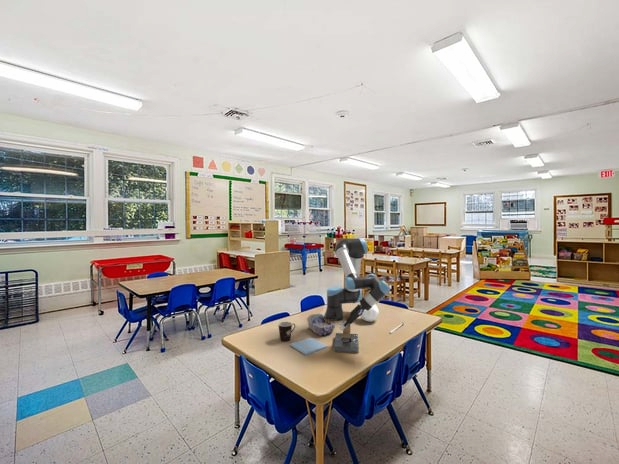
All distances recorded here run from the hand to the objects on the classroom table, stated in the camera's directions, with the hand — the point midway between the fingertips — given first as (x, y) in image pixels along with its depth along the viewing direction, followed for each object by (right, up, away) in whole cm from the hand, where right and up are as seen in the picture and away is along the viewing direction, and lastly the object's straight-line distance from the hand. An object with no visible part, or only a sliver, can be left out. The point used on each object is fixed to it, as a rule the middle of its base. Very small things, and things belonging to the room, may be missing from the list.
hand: (340, 327), depth 176 cm
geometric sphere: (+26, -9, +42) cm, 50 cm away
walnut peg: (+4, -6, 0) cm, 7 cm away
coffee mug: (-33, -11, +9) cm, 36 cm away
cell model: (-11, -10, +22) cm, 27 cm away
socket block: (+4, -11, 0) cm, 11 cm away
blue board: (-19, -11, -2) cm, 22 cm away
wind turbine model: (+43, -10, +31) cm, 54 cm away
